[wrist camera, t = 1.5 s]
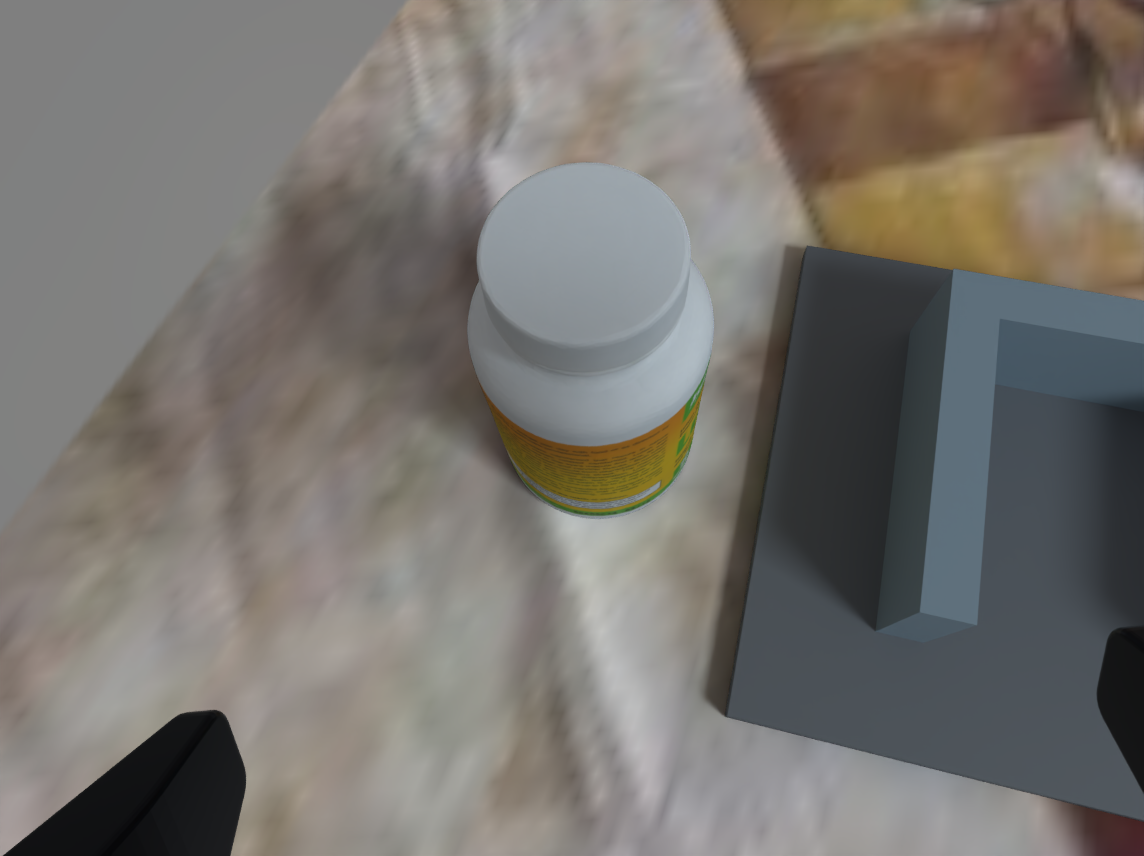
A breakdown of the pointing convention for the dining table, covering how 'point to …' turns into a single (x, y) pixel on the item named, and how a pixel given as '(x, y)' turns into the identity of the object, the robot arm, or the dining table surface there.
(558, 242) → the supplement bottle
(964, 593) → the notch holder
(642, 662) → the dining table surface
